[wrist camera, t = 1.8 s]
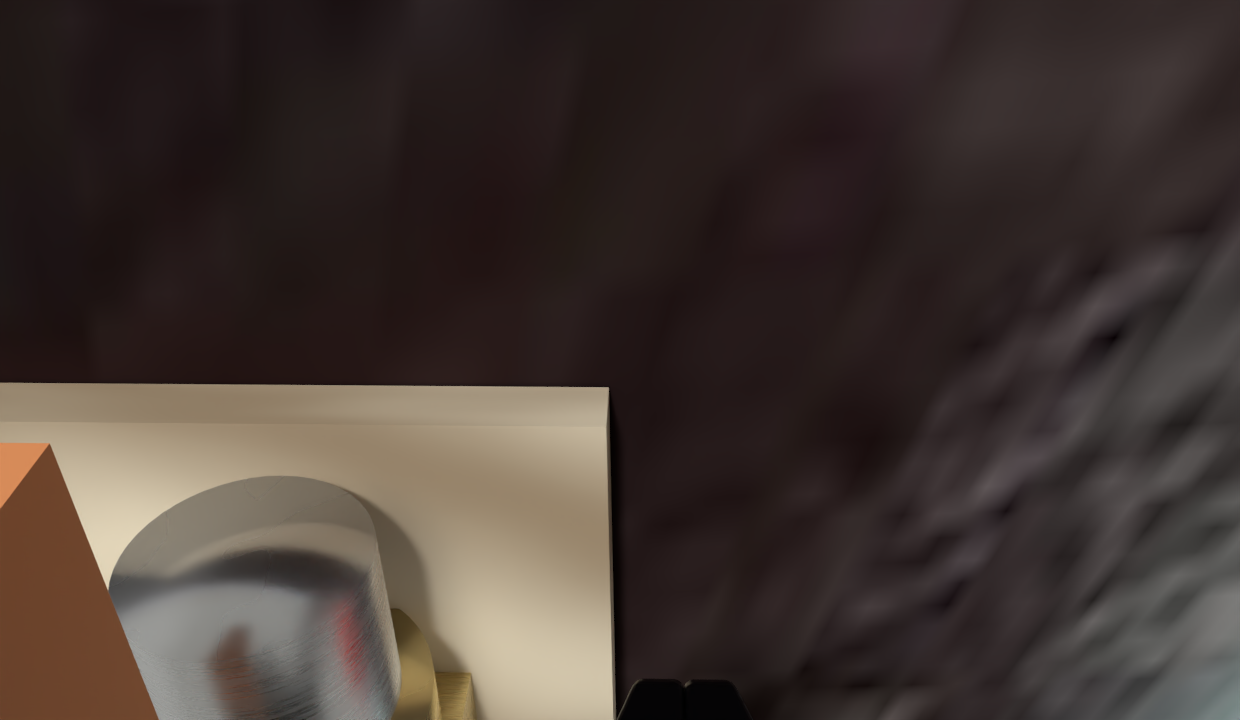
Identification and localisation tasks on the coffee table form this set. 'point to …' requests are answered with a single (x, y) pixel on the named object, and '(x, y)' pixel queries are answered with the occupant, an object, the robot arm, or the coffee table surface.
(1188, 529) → the coffee table surface
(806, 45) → the coffee table surface
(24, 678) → the valve lever
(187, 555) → the valve
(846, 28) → the coffee table surface
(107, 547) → the valve board
